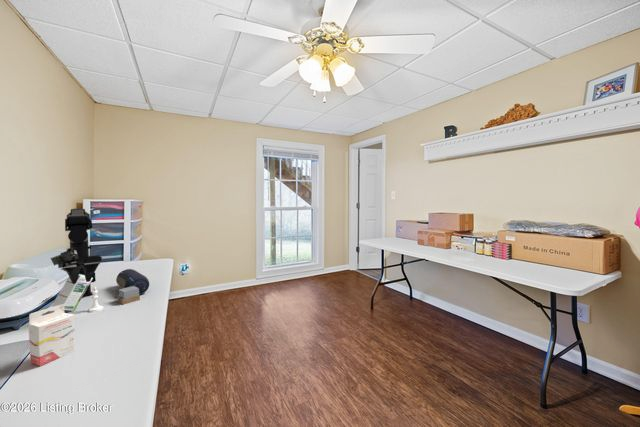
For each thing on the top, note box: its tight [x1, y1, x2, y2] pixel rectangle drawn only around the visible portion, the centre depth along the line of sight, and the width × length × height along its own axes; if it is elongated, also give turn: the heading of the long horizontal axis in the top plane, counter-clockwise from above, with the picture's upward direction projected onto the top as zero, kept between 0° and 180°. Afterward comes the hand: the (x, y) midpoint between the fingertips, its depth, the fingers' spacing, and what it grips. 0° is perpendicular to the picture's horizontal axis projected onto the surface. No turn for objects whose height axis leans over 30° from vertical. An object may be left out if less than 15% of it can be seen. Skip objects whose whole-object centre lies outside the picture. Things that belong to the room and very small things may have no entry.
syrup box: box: [51, 274, 93, 311], centre depth 111 cm, size 6×6×14 cm
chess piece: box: [88, 286, 104, 313], centre depth 111 cm, size 5×5×10 cm
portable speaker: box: [115, 268, 150, 296], centre depth 134 cm, size 25×10×10 cm, turn 50°
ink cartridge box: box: [28, 304, 76, 367], centre depth 78 cm, size 9×5×15 cm, turn 160°
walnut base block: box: [117, 294, 141, 306], centre depth 121 cm, size 7×7×3 cm
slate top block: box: [118, 286, 139, 298], centre depth 121 cm, size 6×6×3 cm
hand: (81, 282), depth 106 cm, fingers open, 9 cm apart
